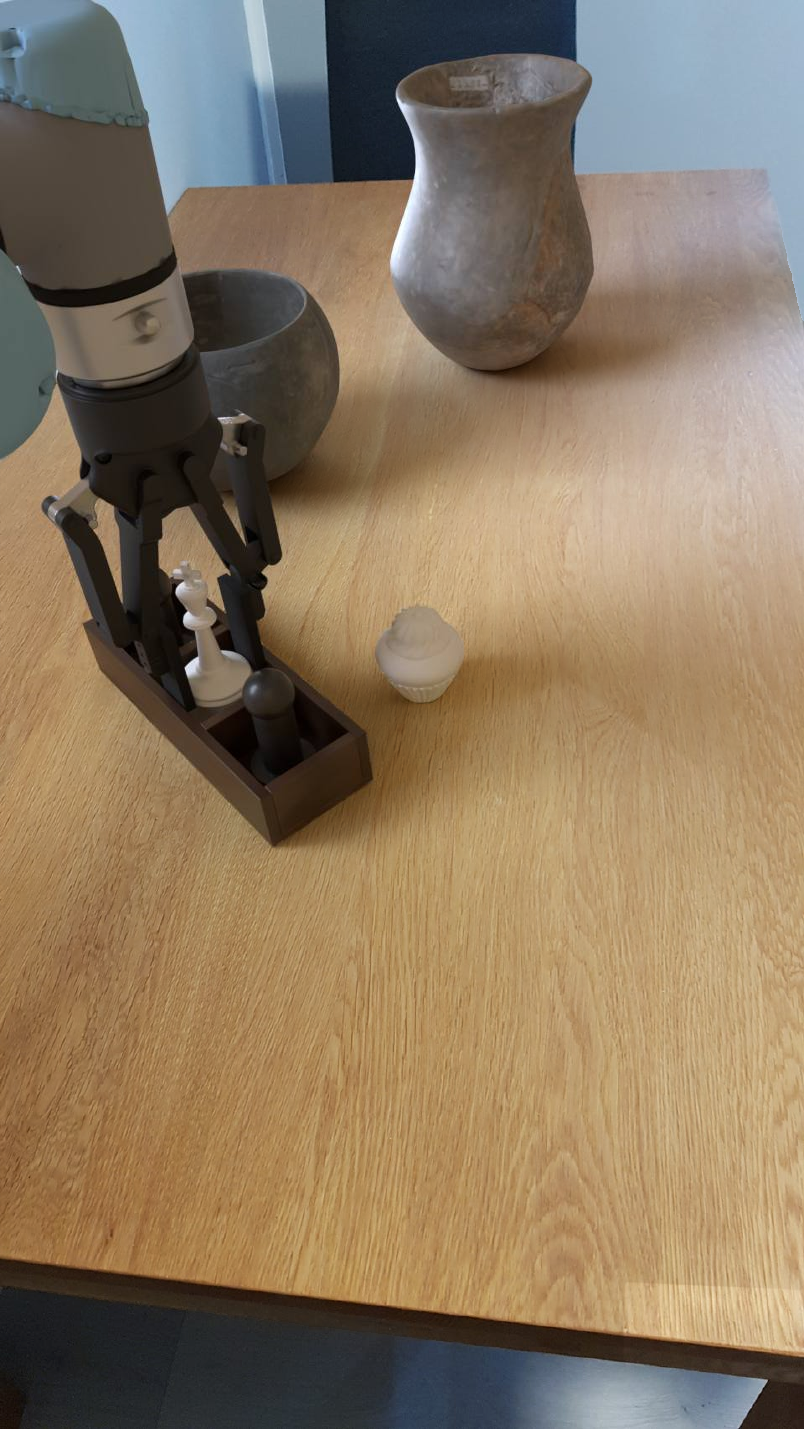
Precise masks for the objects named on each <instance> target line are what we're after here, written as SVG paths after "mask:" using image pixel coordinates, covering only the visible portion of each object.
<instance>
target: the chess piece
mask: <svg viewBox="0 0 804 1429" xmlns="http://www.w3.org/2000/svg"><path fill="white" fill-rule="evenodd" d="M172 577H174V579H184V582H182V583H181V584H180V585H179V586H178V587H177V589H176V596H177V598H178V599H179V600H180V602H181V603H182V604H183V605H184V606H185V608H186V609H187V611H188V612H187V613H186V614H185V615H184V620H183V623H184V626H185V627H186V628H188V629H190V630H195V634H196V641H197V648H198V657H197V658H195V659H194V660H192V661H191V662H190V663H189V664H188V665H187V666H186V667H185V671H186V674H187V677H188V680H189V684H190V687H191V690H192V693H193V697H194V700H195V703H196V705H198V706H202V707H219V706H224V705H227V704H230V703H232V702H234V701H236V700H238V699H239V698H241V697H242V689H243V686H244V683H245V681H246V680H247V678H248V677H249V676H250V675H251V674H252V673H253V670H252V668H251V667H250V664H249V662H248V661H247V659H246V658H244V657H243V656H242V655H240V654H238V653H235V652H231V651H221V650H220V648H219V646H218V644H217V641H216V639H215V637H214V635H213V632H212V630H211V627H210V626H212V625H213V624H214V623H215V621H216V618H217V616H216V613H215V612H214V610H213V609H211V608H210V607H206V603H207V602H206V600H207V598H208V594H209V586H208V584H207V582H206V581H204V580H202V577H203V574H202V570H201V569H192V568H191V564H190V562H189V561H187V560H186V561H185V560H181V562H180V564H179V568H174V570H173V571H172Z"/></svg>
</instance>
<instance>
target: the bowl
mask: <svg viewBox="0 0 804 1429" xmlns="http://www.w3.org/2000/svg"><path fill="white" fill-rule="evenodd" d="M181 276H182V280H183V284H184V289H185V293H186V298H187V302H188V306H189V311H190V315H191V319H192V324H193V328H194V339H193V341H192V342H193V343H194V344H195V345H196V346H197V348H198V350H199V353H200V357H201V361H202V366H203V370H204V374H205V379H206V383H207V387H208V392H209V396H210V401H211V408H210V409H211V411H212V413H213V414H214V415H215V416H216V417H217V418H227V415H228V414H229V412H231V411H232V410H235V409H237V410H240V411H241V412H243V413H245V414H246V415H248V416H249V417H251V418H252V419H254V420H256V421H257V422H259V423H260V424H262V425H263V426H264V427H265V429H266V436H265V444H264V453H263V464H264V469H265V473H266V478H267V482H270V481H272V480H275V479H277V478H280V477H282V476H283V475H285V474H287V473H289V472H290V471H291V470H293V469H294V468H295V467H297V465H299V464H300V463H301V462H302V461H303V460H304V459H305V458H307V456H309V454H311V452H312V451H313V449H314V448H315V446H316V445H317V443H318V442H319V441H320V438H321V437H322V435H323V433H324V431H325V429H326V428H327V426H328V424H329V422H330V420H331V418H332V416H333V413H334V410H335V407H336V405H337V400H338V396H339V392H340V391H339V390H340V379H341V378H340V376H341V375H340V374H341V367H340V357H339V356H340V355H339V349H338V344H337V340H336V336H335V334H334V333H335V332H334V330H333V328H332V325H331V324H330V322H329V320H328V317H327V315H326V313H325V312H324V310H323V309H322V307H321V306H320V304H319V303H318V302H317V300H316V299H315V298H314V296H313V295H312V294H311V293H310V292H309V291H308V289H306V288H305V287H304V285H302V283H300V282H298V281H297V280H295V279H294V278H292V277H290V276H288V275H285V274H283V273H280V272H277V271H271V270H266V269H256V268H254V269H253V268H239V267H238V268H235V267H234V268H233V267H232V268H230V267H229V268H227V267H223V268H212V269H211V268H209V269H202V270H194V271H189V272H185V273H181ZM209 477H210V479H211V480H212V482H213V484H214V486H215V488H216V489H217V491H218V492H226V491H227V492H228V491H233V489H232V485H231V481H230V477H229V473H228V468H227V464H226V460H225V454H224V450H223V449H222V448H221V446H220V447H219V450H218V453H217V456H216V459H215V462H214V465H213V468H212V471H211V473H210V476H209Z"/></svg>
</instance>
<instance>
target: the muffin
mask: <svg viewBox="0 0 804 1429" xmlns="http://www.w3.org/2000/svg"><path fill="white" fill-rule="evenodd" d="M374 656H375V661H376V664H377V666H378V668H379V670H380V671H381V672H382V675H383V677H385V678H386V680H387V682H388V683H389V684H390V685H392V687H393V688H394V689H395V690H396V691H397V692H398V693H399V694H400V695H401V696H402V697H404V699H405V700H409V701H410V702H414V703H418V704H425V703H429V702H434V701H435V700H437V699H438V698H441V697H442V696H443V694H444V693H445V692H446V691H447V689H448V688H449V686H450V685H451V683H452V681H453V680H454V679H455V677H456V676H457V675H458V673H459V670H460V668H461V665H462V663H463V661H464V657H465V644H464V640H463V638H462V636H461V634H460V633H459V631H458V630H457V629H456V628H455V626H453V625H451V624H450V623H448V622H447V621H445V620H444V617H443V616H442V615H441V614H440V613H439V612H438V610H436V609H434V608H432V607H430V606H428V605H420V604H416V605H415V606H413V605H409V606H408V607H407V608H402V609H401V610H400V612H397V613H396V614H395V615H394V619H393V620H392V621H391V623H390V626H388V627H386V629H385V630H384V631H383V632H382V633H381V634H380V636H379V637H378V640H377V642H376V645H375V649H374Z"/></svg>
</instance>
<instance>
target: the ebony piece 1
mask: <svg viewBox="0 0 804 1429" xmlns="http://www.w3.org/2000/svg"><path fill="white" fill-rule="evenodd" d="M170 578H171V577H170V576H169V575H168V573H167V572H166V571H165V570H163V569H162V568H161V567H159V588H160V621H161V622H162V623H164V624H165V625H166V626H167V627H168V628H169V629H170V630H171V631H172V632H173V633H174V635H175V638H176V641H177V645H178V648H180V647H182V646H184V645H185V644H187V643H189V642H191V641H193V640H194V639H193V638H192V637H190V636H188V635H186V634H182V633H181V629H180V626H179V623H178V619H177V616H176V612H175V609H174V606H173V602H172V599H171V593H172V584H171V581H170ZM139 663H140V666H141V667H142V668H144V667H145V666H144V665H143V664H142V663H141V660H140V658H139Z"/></svg>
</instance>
